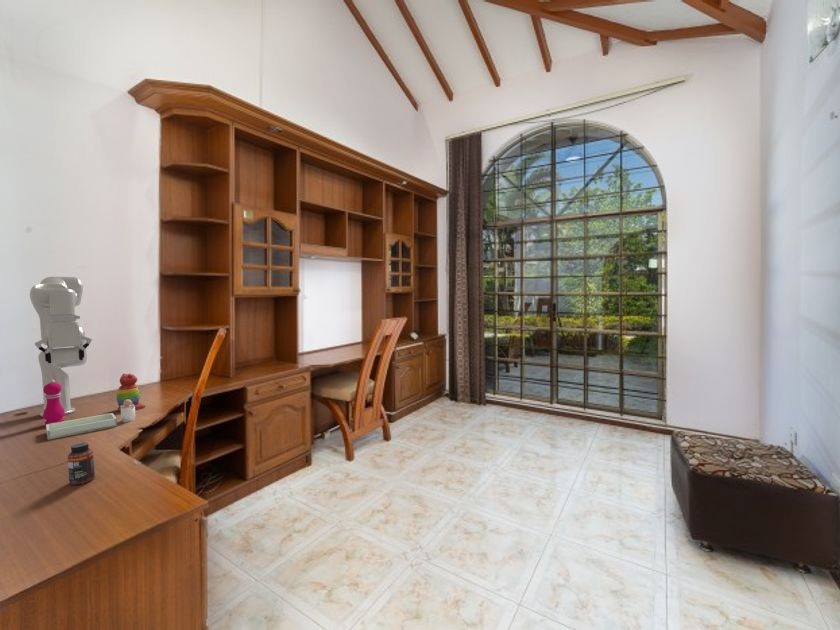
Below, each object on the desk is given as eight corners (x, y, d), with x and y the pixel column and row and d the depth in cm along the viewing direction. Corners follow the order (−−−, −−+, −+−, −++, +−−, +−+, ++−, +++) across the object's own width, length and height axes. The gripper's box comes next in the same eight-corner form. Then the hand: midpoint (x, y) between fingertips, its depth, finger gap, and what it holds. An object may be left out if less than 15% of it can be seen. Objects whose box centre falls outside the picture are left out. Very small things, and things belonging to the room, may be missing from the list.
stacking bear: (146, 407, 202) (145, 372, 201) (124, 412, 193) (122, 376, 192) (134, 405, 207) (133, 371, 206) (112, 410, 198) (110, 374, 197)
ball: (122, 406, 180) (122, 399, 180) (131, 405, 182) (131, 398, 182) (124, 407, 178) (123, 400, 178) (132, 406, 180) (132, 399, 180)
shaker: (120, 420, 180) (119, 405, 180) (134, 417, 184) (133, 403, 184) (122, 423, 177) (121, 408, 176) (136, 420, 180) (135, 405, 180)
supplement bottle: (92, 474, 124) (90, 439, 124) (97, 480, 121) (95, 443, 120) (67, 482, 120) (64, 445, 119) (71, 487, 116) (69, 449, 116)
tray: (46, 432, 165) (46, 424, 165) (112, 420, 180) (112, 412, 180) (47, 439, 156) (47, 431, 156) (117, 426, 172) (116, 418, 172)
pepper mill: (52, 427, 172) (49, 381, 171) (39, 426, 174) (36, 381, 173) (69, 422, 179) (67, 378, 178) (57, 421, 181) (54, 377, 180)
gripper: (88, 318, 170) (90, 357, 170) (31, 320, 156) (34, 363, 157) (92, 318, 165) (94, 359, 166) (34, 320, 151) (37, 365, 152)
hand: (65, 361), depth 161 cm, fingers open, 9 cm apart
